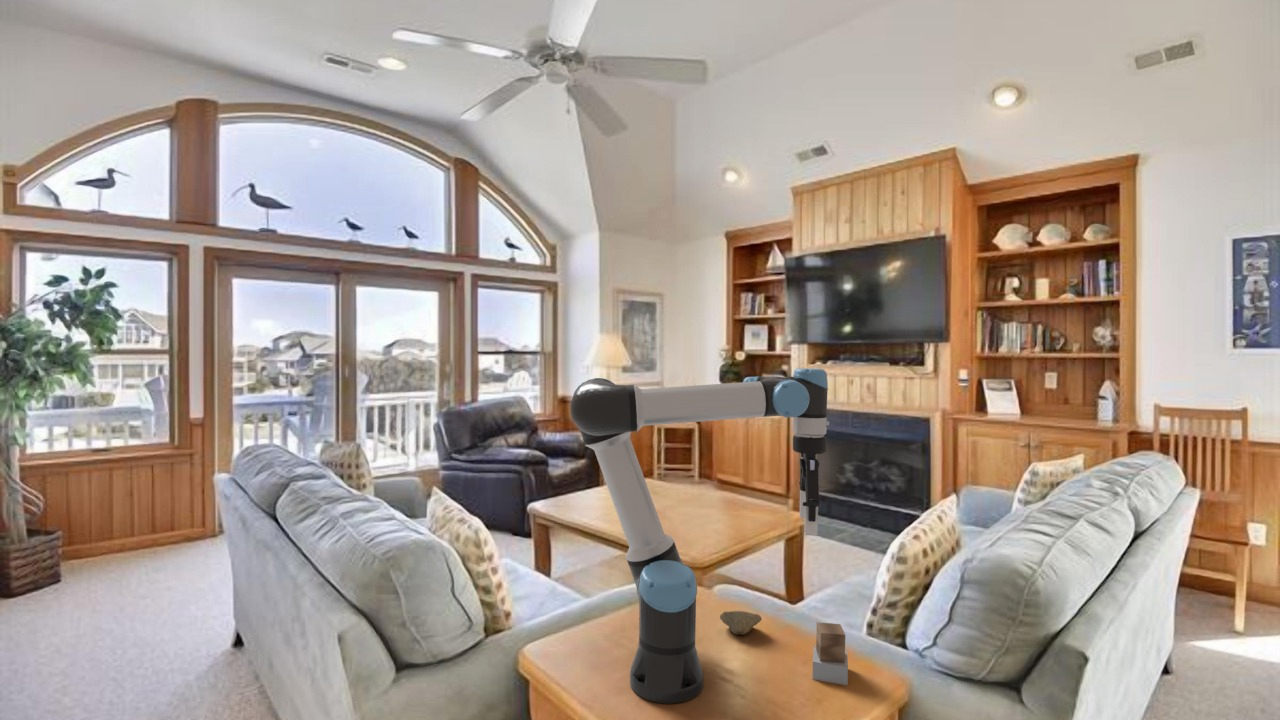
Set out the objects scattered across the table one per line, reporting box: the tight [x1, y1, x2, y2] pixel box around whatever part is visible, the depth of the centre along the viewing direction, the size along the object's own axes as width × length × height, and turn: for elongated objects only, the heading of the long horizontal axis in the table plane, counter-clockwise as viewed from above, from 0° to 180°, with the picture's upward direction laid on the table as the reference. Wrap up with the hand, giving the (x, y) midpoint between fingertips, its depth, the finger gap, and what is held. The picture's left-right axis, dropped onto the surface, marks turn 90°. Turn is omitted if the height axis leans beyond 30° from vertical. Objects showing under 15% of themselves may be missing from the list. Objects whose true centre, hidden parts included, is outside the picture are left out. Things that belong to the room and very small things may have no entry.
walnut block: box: [815, 622, 846, 663], centre depth 128 cm, size 5×5×6 cm
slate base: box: [812, 645, 849, 686], centre depth 128 cm, size 7×7×4 cm
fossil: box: [719, 610, 763, 636], centre depth 145 cm, size 9×4×10 cm
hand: (808, 526), depth 139 cm, fingers open, 13 cm apart
